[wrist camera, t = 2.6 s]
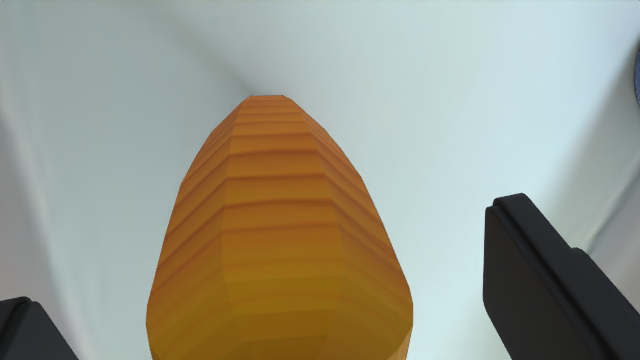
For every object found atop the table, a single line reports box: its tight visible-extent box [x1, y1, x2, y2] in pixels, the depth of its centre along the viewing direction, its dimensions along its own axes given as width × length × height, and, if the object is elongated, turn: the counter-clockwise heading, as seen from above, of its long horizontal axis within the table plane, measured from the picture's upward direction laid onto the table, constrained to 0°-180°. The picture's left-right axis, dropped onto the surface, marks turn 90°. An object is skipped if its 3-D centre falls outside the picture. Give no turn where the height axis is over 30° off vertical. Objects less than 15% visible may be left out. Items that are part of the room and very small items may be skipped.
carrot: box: [146, 95, 413, 360], centre depth 11 cm, size 5×5×15 cm
